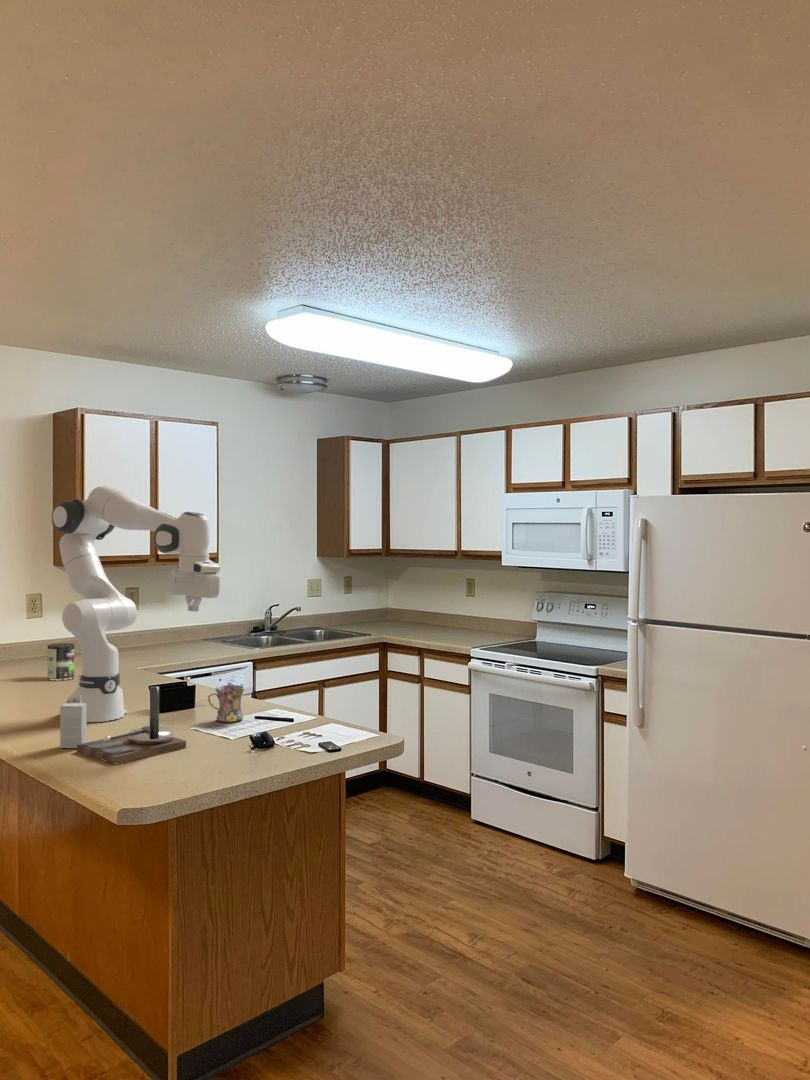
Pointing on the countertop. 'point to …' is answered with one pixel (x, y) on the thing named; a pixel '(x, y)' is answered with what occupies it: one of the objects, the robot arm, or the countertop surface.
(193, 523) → the robot arm
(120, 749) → the stand
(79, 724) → the skincare box
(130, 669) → the countertop surface
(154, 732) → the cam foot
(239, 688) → the mug
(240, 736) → the countertop surface
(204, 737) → the countertop surface
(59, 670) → the coffee can
